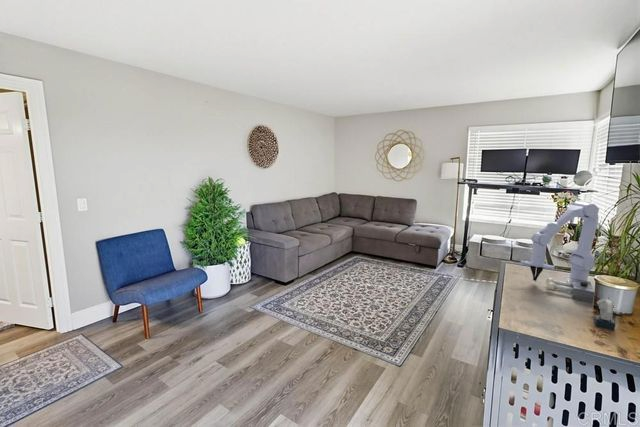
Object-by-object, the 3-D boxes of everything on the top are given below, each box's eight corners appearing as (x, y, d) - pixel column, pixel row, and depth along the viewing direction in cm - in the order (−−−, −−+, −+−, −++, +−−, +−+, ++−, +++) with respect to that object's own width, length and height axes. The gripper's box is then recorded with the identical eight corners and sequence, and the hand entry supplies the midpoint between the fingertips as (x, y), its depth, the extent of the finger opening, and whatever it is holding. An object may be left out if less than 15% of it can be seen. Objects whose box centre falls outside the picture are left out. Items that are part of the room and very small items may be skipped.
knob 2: (575, 288, 157) (576, 281, 156) (575, 291, 154) (577, 284, 153) (545, 282, 164) (546, 276, 163) (546, 285, 161) (547, 278, 160)
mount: (569, 288, 160) (571, 275, 159) (588, 292, 156) (590, 278, 155) (572, 298, 148) (574, 284, 147) (592, 303, 144) (595, 288, 143)
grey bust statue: (610, 323, 126) (615, 298, 124) (615, 333, 119) (620, 306, 117) (592, 319, 129) (597, 294, 127) (595, 328, 122) (600, 302, 120)
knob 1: (576, 293, 151) (577, 286, 151) (577, 296, 148) (578, 288, 148) (546, 287, 158) (547, 280, 157) (546, 289, 155) (547, 282, 154)
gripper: (521, 254, 163) (518, 279, 166) (556, 260, 155) (552, 285, 158) (522, 251, 169) (518, 275, 171) (555, 256, 161) (551, 281, 163)
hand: (534, 280), depth 165 cm, fingers closed
